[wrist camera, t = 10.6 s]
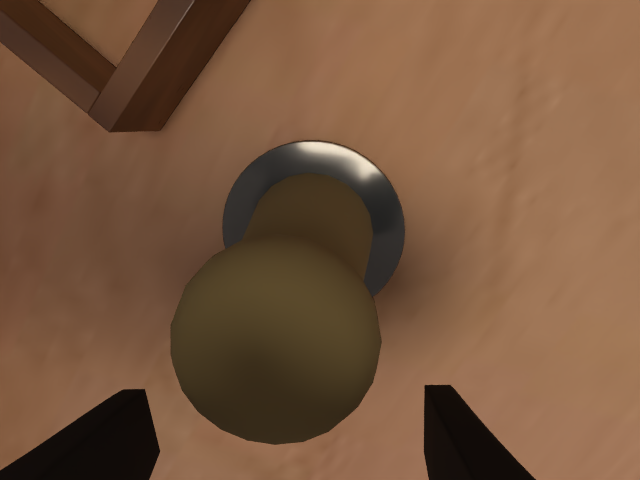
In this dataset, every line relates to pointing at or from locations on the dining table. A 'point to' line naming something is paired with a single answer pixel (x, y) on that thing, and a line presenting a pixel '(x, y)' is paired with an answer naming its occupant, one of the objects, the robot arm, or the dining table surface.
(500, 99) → the dining table surface
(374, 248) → the silver flat disc
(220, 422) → the cork
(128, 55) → the frame
